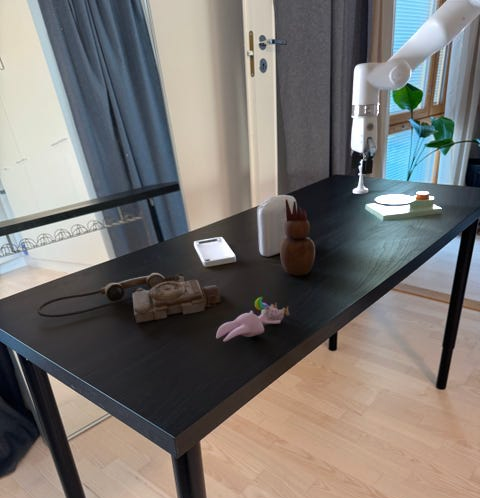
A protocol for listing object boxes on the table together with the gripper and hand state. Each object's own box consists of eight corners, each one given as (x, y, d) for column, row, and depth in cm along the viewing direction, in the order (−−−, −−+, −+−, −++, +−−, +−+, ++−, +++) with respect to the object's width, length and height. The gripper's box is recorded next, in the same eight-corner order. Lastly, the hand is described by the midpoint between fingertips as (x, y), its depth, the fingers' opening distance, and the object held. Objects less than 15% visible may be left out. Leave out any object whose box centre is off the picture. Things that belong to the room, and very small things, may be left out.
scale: (420, 202, 120) (421, 191, 119) (443, 213, 110) (445, 201, 108) (365, 209, 119) (365, 198, 117) (382, 221, 109) (383, 209, 107)
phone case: (236, 261, 93) (222, 241, 106) (236, 256, 92) (221, 236, 105) (204, 267, 92) (193, 246, 104) (203, 262, 91) (193, 241, 104)
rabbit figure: (267, 316, 73) (205, 343, 63) (268, 284, 71) (204, 306, 61) (296, 326, 69) (235, 357, 59) (299, 293, 67) (236, 318, 57)
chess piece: (359, 194, 133) (360, 161, 128) (349, 192, 137) (350, 160, 132) (371, 191, 135) (373, 159, 130) (361, 189, 139) (363, 157, 134)
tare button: (424, 197, 115) (425, 190, 114) (430, 200, 112) (431, 193, 111) (413, 198, 115) (414, 192, 114) (419, 201, 112) (420, 194, 111)
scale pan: (403, 195, 117) (403, 192, 117) (420, 203, 109) (421, 201, 108) (368, 199, 117) (369, 197, 116) (384, 208, 108) (384, 206, 108)
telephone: (43, 304, 82) (36, 285, 80) (208, 275, 88) (205, 256, 85) (31, 347, 69) (22, 326, 67) (224, 309, 75) (221, 289, 73)
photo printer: (286, 241, 101) (285, 190, 95) (300, 245, 98) (299, 192, 92) (256, 254, 96) (252, 200, 90) (269, 258, 93) (266, 203, 87)
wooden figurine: (276, 275, 85) (272, 202, 77) (288, 265, 89) (286, 194, 81) (307, 280, 81) (306, 204, 74) (318, 269, 85) (319, 195, 78)
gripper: (389, 111, 117) (383, 174, 125) (365, 108, 132) (361, 165, 140) (363, 114, 116) (359, 177, 125) (342, 110, 131) (340, 167, 140)
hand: (360, 171), depth 133 cm, fingers open, 9 cm apart
